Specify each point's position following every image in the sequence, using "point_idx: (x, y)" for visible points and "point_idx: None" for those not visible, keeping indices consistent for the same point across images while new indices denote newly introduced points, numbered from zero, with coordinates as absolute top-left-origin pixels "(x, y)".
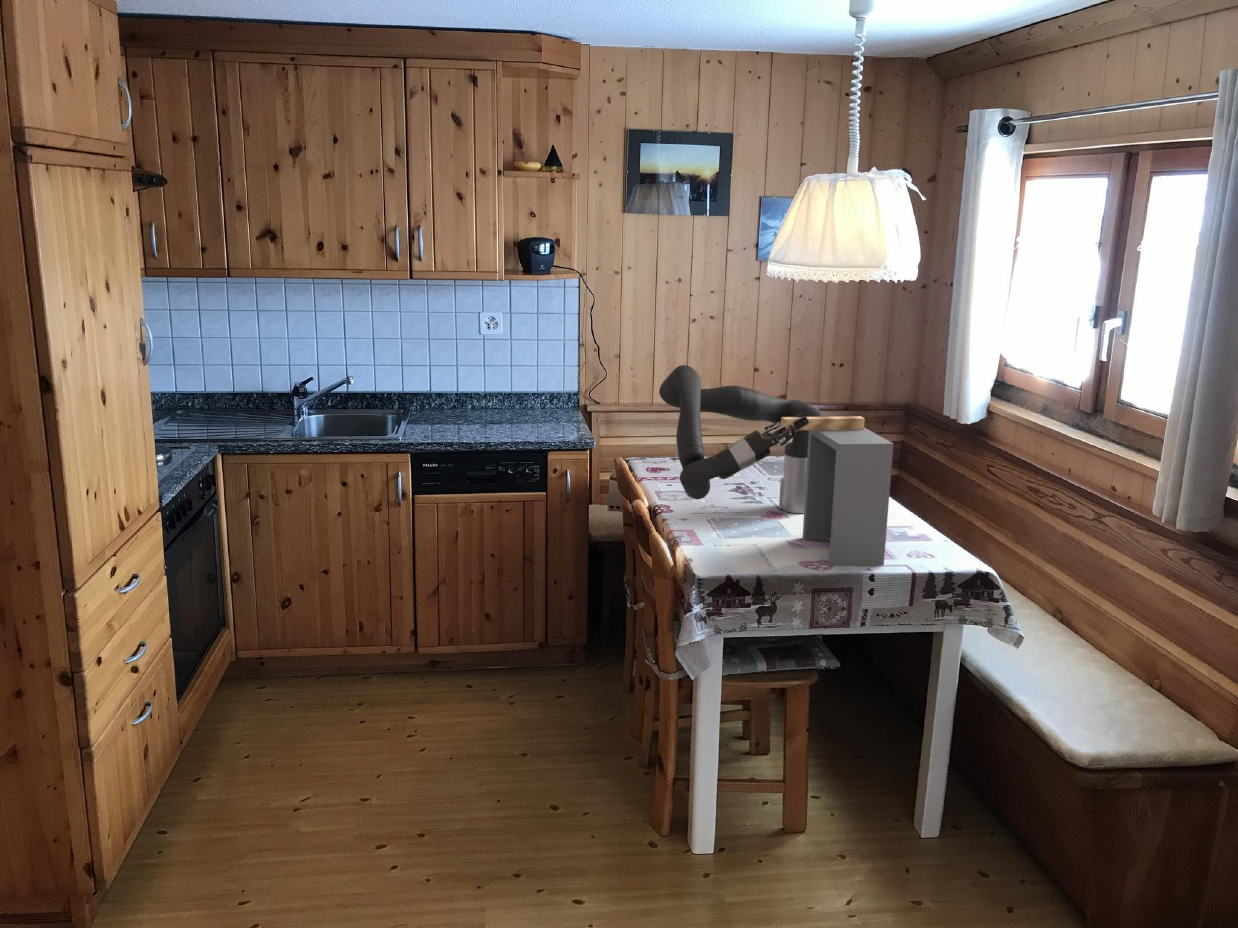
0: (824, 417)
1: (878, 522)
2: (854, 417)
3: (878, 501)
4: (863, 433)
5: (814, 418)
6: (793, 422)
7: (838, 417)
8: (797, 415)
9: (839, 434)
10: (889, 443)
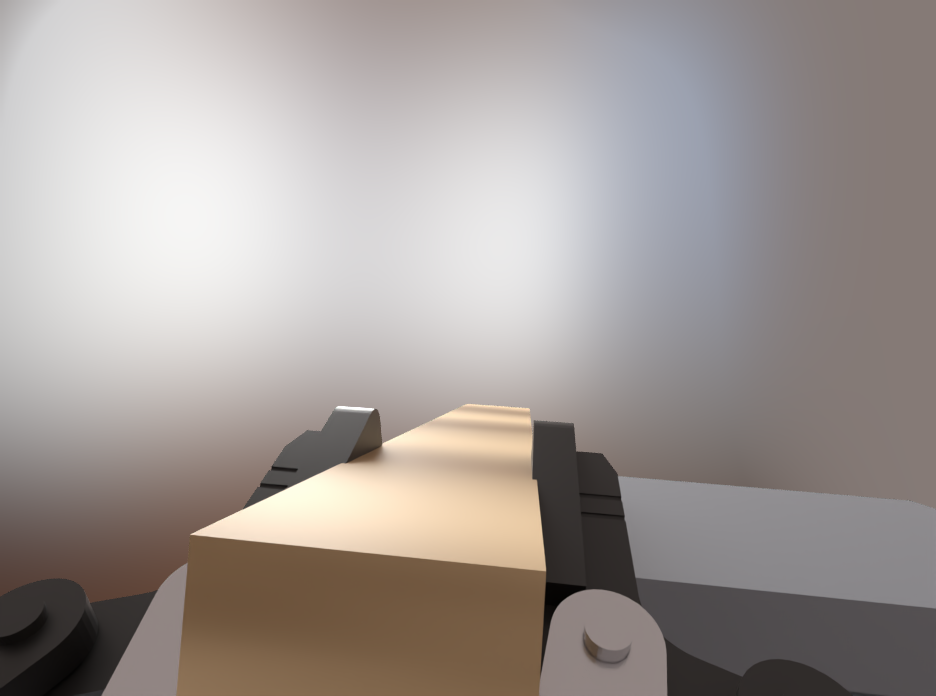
0: (466, 424)
1: None
2: (497, 409)
3: None
4: (648, 490)
5: (504, 440)
6: (550, 572)
7: (483, 415)
8: (341, 433)
9: (723, 539)
10: (924, 505)
